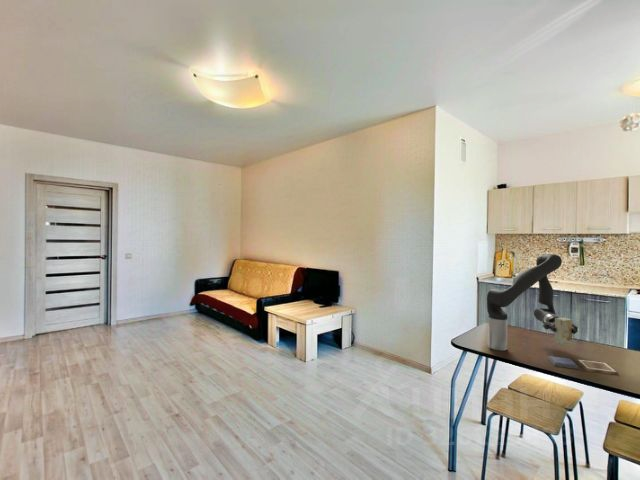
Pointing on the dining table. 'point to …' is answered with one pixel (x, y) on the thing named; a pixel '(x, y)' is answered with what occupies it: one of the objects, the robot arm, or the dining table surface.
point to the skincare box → (563, 331)
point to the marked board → (597, 367)
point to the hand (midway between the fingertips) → (564, 331)
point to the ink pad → (562, 362)
